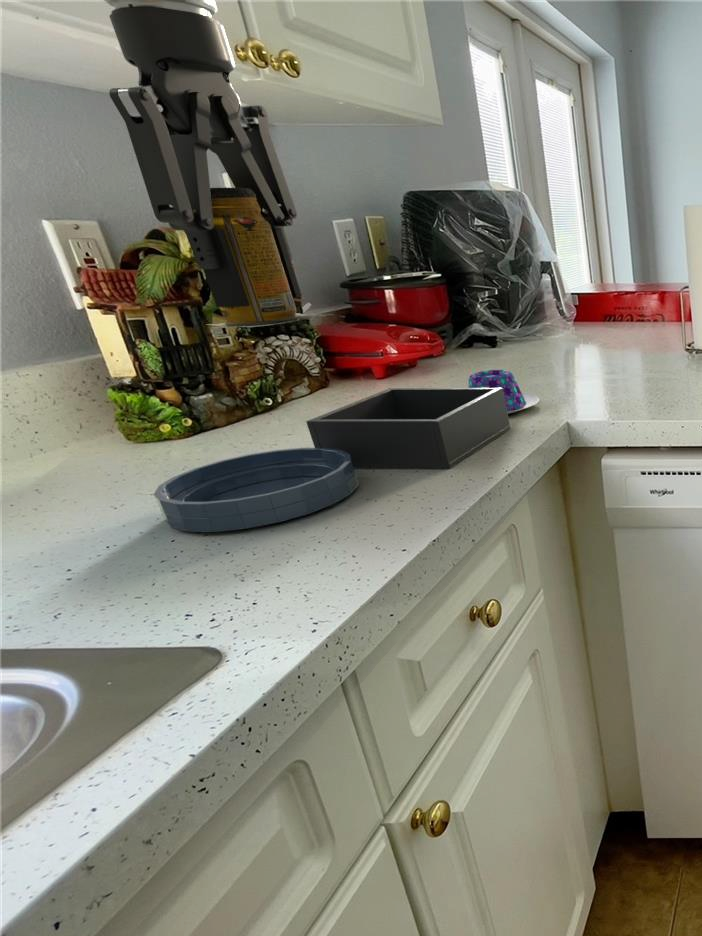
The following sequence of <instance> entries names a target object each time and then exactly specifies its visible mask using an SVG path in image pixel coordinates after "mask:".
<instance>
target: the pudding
mask: <svg viewBox="0 0 702 936" xmlns="http://www.w3.org/2000/svg"><path fill="white" fill-rule="evenodd" d="M467 388H503V393H504V398H505V403H506V408H507V413H508V415H509V414H514V413H517V412H520V411H522V410H525V409H529V408H530V407H533V406H534V405H536V404H537V403H539V401H540V399H539V397H538V396H536V395H533V394H528V393H522V390H521V389H520V386H519V383H518V382H517V380H516V378H515V376H514V374H513V373H512V372H511V371H509V370H506V369H489V370H482V371H481V370H480V371H478V372H476V373H471V374H470V375H469V376H468V387H467Z"/></svg>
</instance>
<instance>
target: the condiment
mask: <svg viewBox="0 0 702 936" xmlns="http://www.w3.org/2000/svg"><path fill="white" fill-rule="evenodd" d="M210 192H211V202H212V212H213V222H214V227H213V229H211V230H224V231H225V234H226V237H227V240H228V243H229V246H230V249H231V252H232V255H233V258H234V260H235V263H236V266H237V269H238V272H239V275H240V278H241V281H242V284H243V287H244V290H245V293H246V296H247V299H248V302H249V306H239V307H219V309H220V313H221V315H222V318H223V319H225V320H226V322H220V323H213V324H211V323H206V324H205V325H207V326H215V327H221V328H222V327H224V328H255V327H265V326H274V325H282V324H286V323H287V324H288V323H289V324H290V323H293V322H301V321H304V320H311V319H315V318H316V319H318V318H323V317H326V316H328V314H308V313H298V312H297V307H296V304H295V300H294V297H292V294H291V291H290V287H289V284H288V281H287V277H286V274H285V271H284V268H283V265H282V262H281V258H280V255H279V252H278V249H277V246H276V242H275V239H274V236H273V232H272V230H271V226H270V224H269V223H268V221H266V220H265V219H264V218H263V217H262V215H261V214H260V212H261V208H260V206H259V204H258V202H257V201H256V200H257V199H256V194H255V193H254V192H253V191H252V190H251V189H250V188H235V187H210ZM193 212H195V210H193ZM195 213H196V212H195ZM332 315H333V313H332V314H329V316H332Z"/></svg>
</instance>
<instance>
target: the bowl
mask: <svg viewBox="0 0 702 936" xmlns="http://www.w3.org/2000/svg"><path fill="white" fill-rule="evenodd" d="M358 487H359V480H358V476H357V472H356V468H354V465H353V462H352V459H351V455H350V454H348V453H346V452H344V451H342V450H336V449H329V448H315V447H295V448H284V449H275V450H268V451H261V452H256V453H249V454H244V455H240V456H235V457H229V458H225V459H222V460H218V461H215V462H214V461H213V462H212V463H208V464H205V465H201V466H198V467H195V468H191V469H190V470H187V471H185V472H182V473H179V474H176V475H174V476H173V477H170V478H169V479H168V480H166V481H164V482H163V483H161V484H159V485H158V486H157V488H156V489H155V491H154V492H153V497H154V499H155V501H156V504H157V505H158V508H159V510H160V512H161V515H162V517H163V519H164V521H165V522H166V524H168V526H169V527H170V528H171V529H174V530H175V529H176V530H180V531H184V532H188V533H189V532H190V533H217V532H226V531H238V530H246V529H251V528H258V527H263V526H268V525H272V524H277V523H282V522H286V521H289V520H293V519H296V518H300V517H303V516H306V515H309V514H312V513H314V512H317V511H320V510H322V509H325V508H327V507H330V506H333V505H334V504H336V503H339V502H340V501H342V500H343V499H345V498H347V497H349V496H350V495H351V494H352V493H353V492H354V491H355V490H356V489H357V488H358Z"/></svg>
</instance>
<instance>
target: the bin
mask: <svg viewBox="0 0 702 936" xmlns="http://www.w3.org/2000/svg"><path fill="white" fill-rule="evenodd" d="M305 422H306V426H307V428H308V429H307V430H308V431H309V435H310V438H311V440H312V444H313V448H329V449H336V450H342V451H344V452H346V453H348V454H350V455H351V459H352V462H353V465H354V468H355V469H405V470H406V469H413V470H415V469H417V470H418V469H421V470H422V469H423V470H426V469H427V470H428V469H429V470H432V469H433V470H441V469H442V470H450V469H452V468H453V467H455V466H457V465H459V464H460V463H461V462H462V461H464V460H465V459H467V458H469V457H470V456H472V455H473V454H475V453H476V452H478V451H479V450H481V449H483V448H485V446H488V445H489V444H491V443H492V442H493V441H494V440H496V439H498V438H499V437H501V436H502V435H505V433H507V432H509V431H510V430H511V429H512V427H511V423H510V418H509V414H508V413H507V408H506V403H505V398H504V393H503V388H468V387H409V388H408V387H390V388H387V389H384V390H381V391H378V392H377V393H374V394H372V395H369V396H366V397H363V398H362V399H360V400H357V401H354V402H352V403H349V404H346V405H344V406H341V407H339V408H336V409H334V410H331V411H328V412H326V413H324V414H321V415H318V416H317V417H313V418H310V419H308V420H306V421H305Z"/></svg>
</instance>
